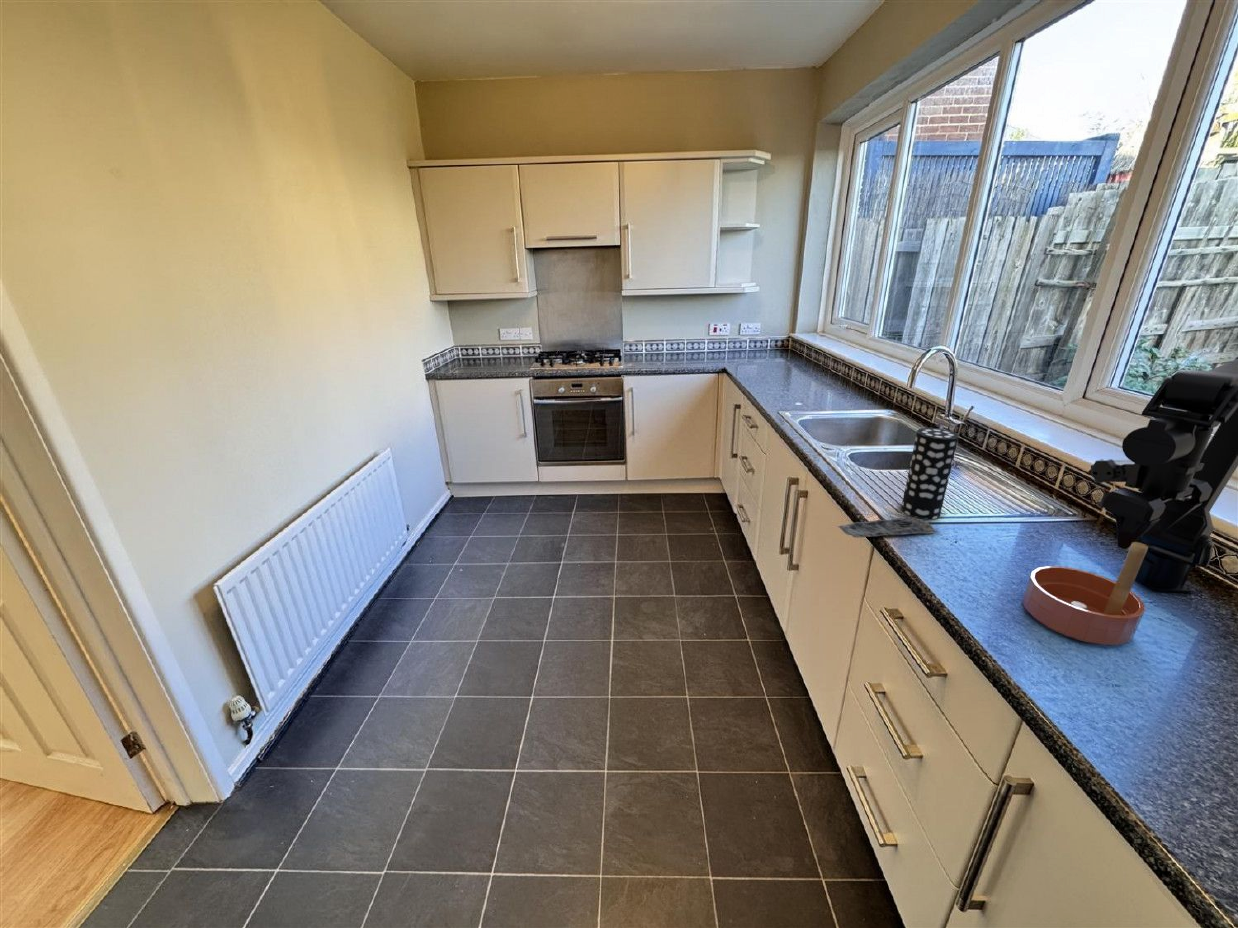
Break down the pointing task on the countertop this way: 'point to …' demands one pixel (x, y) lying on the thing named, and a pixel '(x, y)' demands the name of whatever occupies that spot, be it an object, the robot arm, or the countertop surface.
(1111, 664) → the countertop surface
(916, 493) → the spotted tube
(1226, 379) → the robot arm
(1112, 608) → the stirrer
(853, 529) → the driftwood
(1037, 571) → the bowl
